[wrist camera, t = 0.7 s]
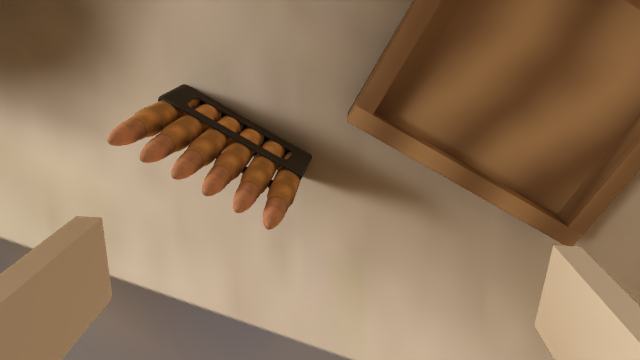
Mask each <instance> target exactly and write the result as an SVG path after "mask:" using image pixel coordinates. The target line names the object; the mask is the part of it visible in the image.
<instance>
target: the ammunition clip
mask: <svg viewBox="0 0 640 360" xmlns="http://www.w3.org/2000/svg"><path fill="white" fill-rule="evenodd" d="M161 100H162V101H161ZM158 101H159V102H157V103H155V104H153V105H150V106H148V107H146V108H144V109H142V110H140V111H138V112H137V113H136V114H135V115H134V116H133V117H131V118H130V119H128V120H127V121H125V122H123V123H121V124H120V125H119V126H117V127H116V128H115V129H114V130H113V131H112V132H111V134H110V135H109V137H108V143H109V144H110V145H115V146H121V145H127V144H130V143H133V142H136V141H138V140H140V139H143V138H145V137H150V136H154V135H156V134H158V133H159V132H161V133H159V134H158V135H157V136H156V137H155V138H153V139H152V140H150V141H149V142H148V143H147V144H146V146H145V147H144V148H143V150H142V152H141V154H140V160H141V161H142V162H145V163H150V162H155V161H159V160H161V159H163V158H165V157H167V156H168V155H170V154H172V153H174V152H177V151H180V150H182V149H184V148H185V147H187V146H188V145H189V144H190V145H189V146H188V148H187V150H186V151H185V152H184V153H183V154H182V155H181V156H180V157H179V158H178V160H177V161H176V162H175V164H174V166H173V168H172V172H171V175H172V178H173V179H184V178H187V177H189V176H190V175H192V174H194V173H195V172H197V171H198V170H199V169H201V168H202V167H203V166H206V165H208V164H210V163H211V162H212V161H213V160H214V159H215V158H216V161H215V163H214V166H213V167H212V169H211V170H210V172H209V173H208V174H207V176H206V178H205V180H204V182H203V186H202V192H203V194H204V195H205V196H212V195H214V194H216V193H218V192H220V191H221V190H222V189H224V188H225V186H226V185H227V184H229V183H230V182H231V180H233V179H235V178H237V177H238V176H239V174H240V173H243V175H242V178H241V183H240V185H239V187H238V189H237V191H236V193H235V196H234V199H233V209H234V211H235V212H236V213H241V212H244V211H245V210H247V209H249V208H250V207H251V206H252V204H253V203H254V202H255V201H256V199H257V198H258V197H259V195H260V194H261V193H263V192H264V191H265V189H266V188H267V187H268V188H269V191H268V194H267V202H266V206H265V209H264V213H263V223H264V226H265V228H266V229H268V230H269V229H273V228H274V227H276V226H277V225H278V224H279V223H280V222H281V220H282V219H283V217H284V215H285V213H286V211H287V209H288V208H289V206H290V205H291V204H292V203H293V200H294V198H295V195H296V192H297V189H298V186H299V183H300V180H301V178H302V176H303V174H304V172H305V170H306V168H307V166H308V164H309V162H310V160H311V158H312V156H311V155H310V154H308V153H306V152H304V151H303V150H301V149H299V148H297V147H295V146H294V145H292V144H290V143H288V142H287V141H285V140H283V139H281V138H280V137H278V136H276V135H274V134H272V133H271V132H269V131H267V130H265V129H264V128H262V127H260V126H258V125H257V124H255V123H253V122H251V121H250V120H248V119H246V118H244V117H242V116H241V115H239V114H237V113H235V112H234V111H232V110H230V109H228V108H227V107H225V106H223V105H221V104H219V103H218V102H216V101H214V100H212V99H211V98H209V97H207V96H205V95H204V94H202V93H200V92H198V91H197V90H195V89H193V88H191V87H189V86H188V85H185V84H184V85H181V86H179V87H177V88H175V89H173V90H171V91H169V92H167V93H165V94H164V95H162V96H160V97H159V99H158ZM226 147H227V148H226ZM225 148H226V149H225ZM224 149H225V150H224ZM223 150H224V151H223ZM222 151H223V152H222ZM221 152H222V153H221ZM253 156H254V159H253V160H252V162H251V163H250V165H249V166H248V167H246V165H247V164H248V162H249V161H250V160H251V158H252V157H253ZM276 169H277V170H278V172H277V174H276V176H275V178H274V180H271V179H272V177H273V175H274V173H275V171H276Z"/></svg>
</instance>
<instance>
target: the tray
mask: <svg viewBox="0 0 640 360" xmlns="http://www.w3.org/2000/svg"><path fill="white" fill-rule="evenodd" d="M347 122H349V123H350V124H352V125H354V126H356V127H357V128H359V129H361V130H363V131H365V132H366V133H368V134H370V135H372V136H373V137H375V138H377V139H379V140H380V141H382V142H384V143H386V144H387V145H389V146H391V147H393V148H395V149H396V150H398V151H400V152H402V153H403V154H405V155H407V156H409V157H410V158H412V159H414V160H416V161H417V162H419V163H421V164H423V165H425V166H426V167H428V168H430V169H432V170H433V171H435V172H437V173H439V174H440V175H442V176H444V177H446V178H448V179H449V180H451V181H453V182H455V183H456V184H458V185H460V186H462V187H463V188H465V189H467V190H469V191H470V192H472V193H474V194H476V195H478V196H479V197H481V198H483V199H485V200H486V201H488V202H490V203H492V204H493V205H495V206H497V207H499V208H500V209H502V210H504V211H506V212H508V213H509V214H511V215H513V216H515V217H516V218H518V219H520V220H522V221H523V222H525V223H527V224H529V225H530V226H532V227H534V228H536V229H538V230H539V231H541V232H543V233H545V234H546V235H548V236H550V237H552V238H553V239H555V240H557V241H559V242H560V243H562V244H564V245H566V246H574V244H575V243H576V242H577V241H578V240H579V239H580V237H581V236H582V235H583V234H584V233H585V232H586V230H587V229H588V228H589V227H590V226H591V225H592V223H593V222H594V221H595V220H596V219H597V217H598V216H599V215H600V214H601V213H602V212H603V210H604V209H605V208H606V207H607V206H608V205H609V203H610V202H611V201H612V200H613V199H614V198H615V196H616V195H617V194H618V193H619V192H620V191H621V189H622V188H623V187H624V186H625V185H626V184H627V182H628V181H629V180H630V179H631V178H632V177H633V175H634V174H635V173H636V172H637V171H638V169H639V168H640V0H414V1H413V2H412V4H411V6H410V8H409V9H408V11H407V13H406V14H405V16H404V18H403V20H402V21H401V23H400V25H399V26H398V28H397V30H396V32H395V33H394V35H393V37H392V38H391V40H390V42H389V43H388V45H387V47H386V49H385V50H384V52H383V54H382V55H381V57H380V59H379V61H378V62H377V64H376V66H375V67H374V69H373V71H372V73H371V74H370V76H369V78H368V79H367V81H366V83H365V85H364V86H363V88H362V90H361V91H360V93H359V95H358V97H357V98H356V100H355V102H354V103H353V105H352V107H351V108H350V110H349V112H348V119H347Z"/></svg>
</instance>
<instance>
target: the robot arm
mask: <svg viewBox="0 0 640 360" xmlns="http://www.w3.org/2000/svg"><path fill="white" fill-rule="evenodd" d="M111 298H112V292H111V284H110V276H109V269H108V261H107V253H106V246H105V238H104V231H103V223H102V218H98V217H82V216H76V217H75V218H73V219H72V220H71V221H69V222H68V223H67V224H65V225H64V226H63V227H62V228H60V229H59V230H58V231H56V232H55V233H54V234H52V235H51V236H50V237H48V238H47V239H46V240H44V241H43V242H42V243H41V244H39V245H38V246H37V247H35V248H34V249H33V250H31V251H30V252H29V253H27V254H26V255H25V256H23V257H22V258H21V259H20V260H18V261H17V262H16V263H14V264H13V265H12V266H10V267H9V268H8V269H6V270H5V271H4V272H2V273H1V274H0V360H61V359H62V358H63V357H64V356H65V355H66V353H67V352H68V351H69V350H70V348H71V347H72V346H73V345H74V344H75V342H76V341H77V340H78V339H79V337H80V336H81V335H82V334H83V332H84V331H85V330H86V329H87V327H88V326H89V325H90V324H91V323H92V321H93V320H94V319H95V318H96V317H97V315H98V314H99V313H100V312H101V310H102V309H103V308H104V307H105V306H106V304H107V303H108V302H109V301H110V299H111ZM534 326H535V328H536V329H537V331H538V333H539V334H540V336H541V338H542V340H543V341H544V343H545V345H546V346H547V348H548V350H549V351H550V353H551V355H552V356H553V358H554V360H640V306H639V305H638V304H637V303H636V302H635V301H634V300H633V299H632V298H631V297H630V296H629V295H628V294H627V293H626V292H625V291H624V290H623V289H622V288H621V287H620V286H619V285H618V284H617V283H616V282H615V281H614V280H613V279H612V278H611V277H610V276H609V275H608V274H607V273H606V272H605V271H604V270H603V269H602V268H601V267H600V266H599V265H598V264H597V263H596V262H595V261H594V260H593V259H592V258H591V257H590V256H589V255H588V254H587V253H586V252H585V251H584V250H583V249H582V248H581V247H576V246H559V245H553V249H552V253H551V257H550V261H549V265H548V270H547V274H546V278H545V282H544V286H543V291H542V295H541V299H540V303H539V307H538V312H537V316H536V320H535V324H534Z"/></svg>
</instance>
